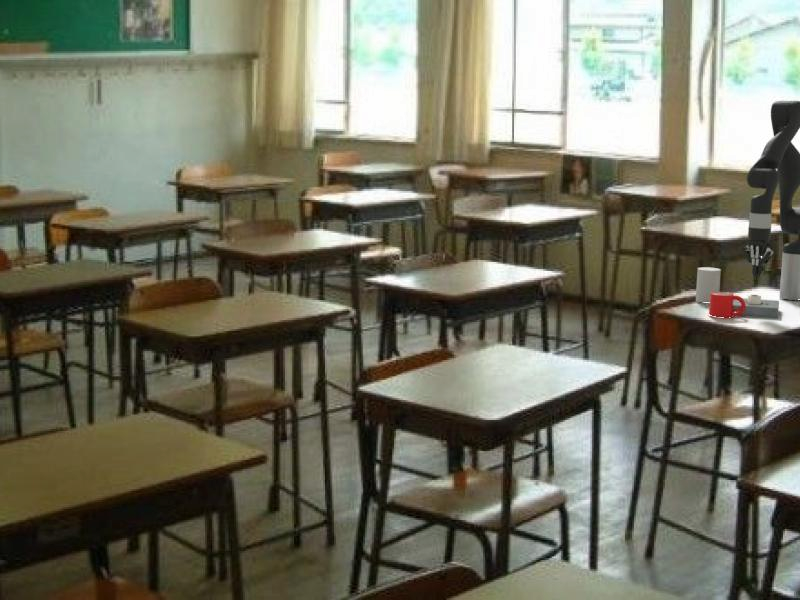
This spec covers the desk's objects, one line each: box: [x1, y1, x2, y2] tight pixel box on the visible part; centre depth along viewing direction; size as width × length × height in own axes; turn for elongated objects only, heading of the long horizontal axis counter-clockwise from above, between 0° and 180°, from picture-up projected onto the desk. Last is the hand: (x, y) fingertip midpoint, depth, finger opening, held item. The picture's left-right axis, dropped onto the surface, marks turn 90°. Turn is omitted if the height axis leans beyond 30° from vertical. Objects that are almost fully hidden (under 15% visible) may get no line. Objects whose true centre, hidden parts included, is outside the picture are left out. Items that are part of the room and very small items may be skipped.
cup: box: [695, 266, 722, 303], centre depth 475 cm, size 8×8×12 cm
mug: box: [708, 291, 746, 319], centre depth 447 cm, size 8×12×8 cm, turn 73°
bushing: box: [747, 294, 762, 304], centre depth 455 cm, size 4×4×6 cm
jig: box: [733, 297, 780, 319], centre depth 455 cm, size 16×16×4 cm
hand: (756, 275), depth 453 cm, fingers closed
